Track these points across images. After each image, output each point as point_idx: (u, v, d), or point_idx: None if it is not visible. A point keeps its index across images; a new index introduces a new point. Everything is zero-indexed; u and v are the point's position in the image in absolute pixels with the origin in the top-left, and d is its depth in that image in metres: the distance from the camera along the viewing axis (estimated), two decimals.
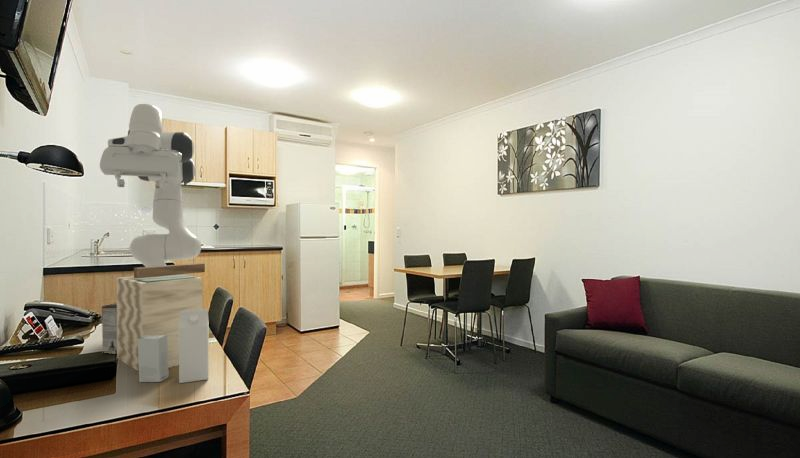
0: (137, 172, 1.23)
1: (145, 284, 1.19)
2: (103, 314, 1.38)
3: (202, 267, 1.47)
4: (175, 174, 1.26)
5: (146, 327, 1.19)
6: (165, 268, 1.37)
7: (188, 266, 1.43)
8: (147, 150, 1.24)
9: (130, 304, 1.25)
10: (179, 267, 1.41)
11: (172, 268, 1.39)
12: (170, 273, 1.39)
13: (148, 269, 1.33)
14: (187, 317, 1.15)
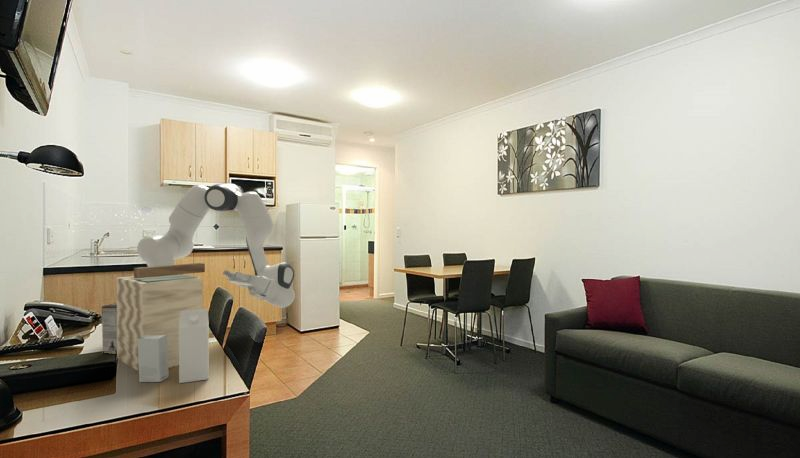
0: None
1: (145, 284, 1.19)
2: (103, 314, 1.38)
3: (202, 267, 1.47)
4: None
5: (146, 327, 1.19)
6: (165, 268, 1.37)
7: (188, 266, 1.43)
8: None
9: (130, 304, 1.25)
10: (179, 267, 1.41)
11: (172, 268, 1.39)
12: (170, 273, 1.39)
13: (148, 269, 1.33)
14: (187, 317, 1.15)
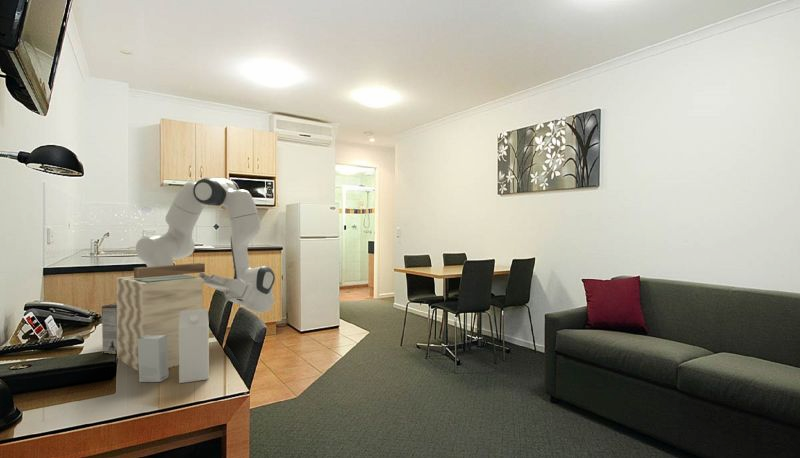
0: None
1: (145, 284, 1.19)
2: (103, 314, 1.38)
3: (202, 267, 1.47)
4: None
5: (146, 327, 1.19)
6: (165, 268, 1.37)
7: (188, 266, 1.43)
8: None
9: (130, 304, 1.25)
10: (179, 267, 1.41)
11: (172, 268, 1.39)
12: (170, 273, 1.39)
13: (148, 269, 1.33)
14: (187, 317, 1.15)
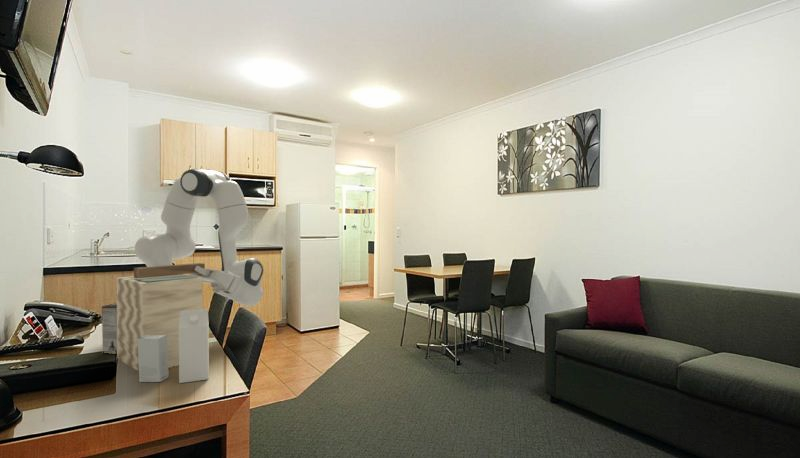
0: None
1: (145, 284, 1.19)
2: (103, 314, 1.38)
3: (202, 267, 1.47)
4: None
5: (146, 327, 1.19)
6: (165, 268, 1.37)
7: (188, 266, 1.43)
8: None
9: (130, 304, 1.25)
10: (179, 267, 1.41)
11: (172, 268, 1.39)
12: (170, 273, 1.39)
13: (148, 269, 1.33)
14: (187, 317, 1.15)
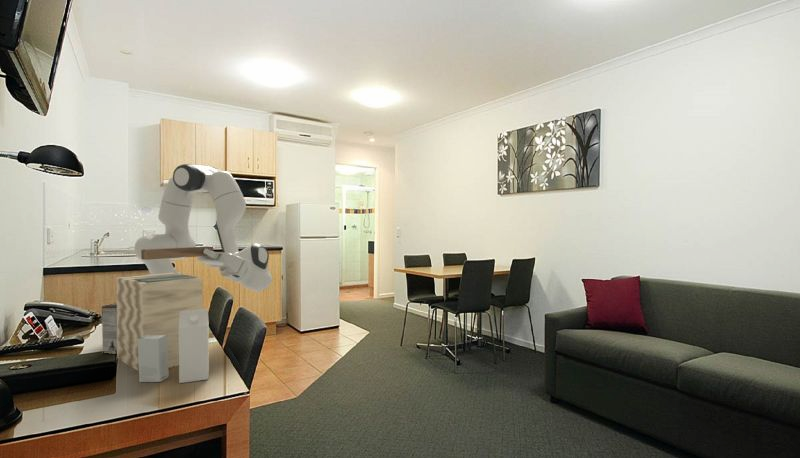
0: None
1: (145, 284, 1.19)
2: (103, 314, 1.38)
3: (211, 250, 1.43)
4: None
5: (146, 327, 1.19)
6: (173, 250, 1.33)
7: (196, 249, 1.39)
8: None
9: (130, 304, 1.25)
10: (187, 249, 1.37)
11: (180, 250, 1.35)
12: (178, 255, 1.35)
13: (156, 251, 1.29)
14: (187, 317, 1.15)
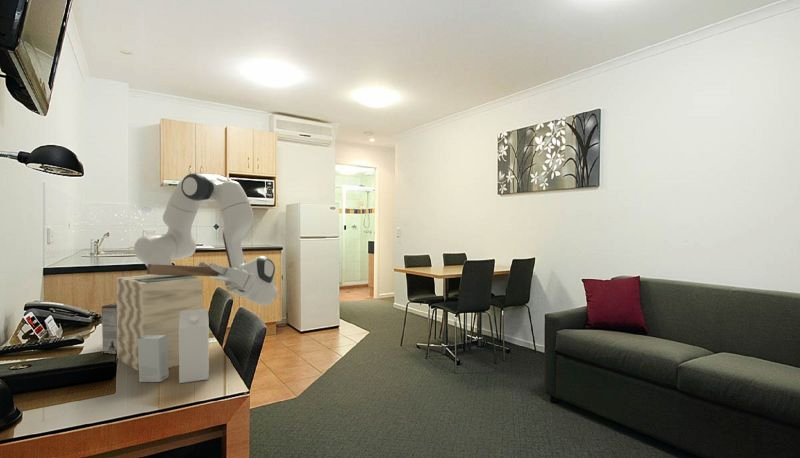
0: None
1: (145, 284, 1.19)
2: (103, 314, 1.38)
3: None
4: None
5: (146, 327, 1.19)
6: (180, 268, 1.31)
7: (203, 268, 1.37)
8: None
9: (130, 304, 1.25)
10: (194, 268, 1.35)
11: (187, 268, 1.33)
12: (184, 273, 1.32)
13: (162, 267, 1.27)
14: (187, 317, 1.15)
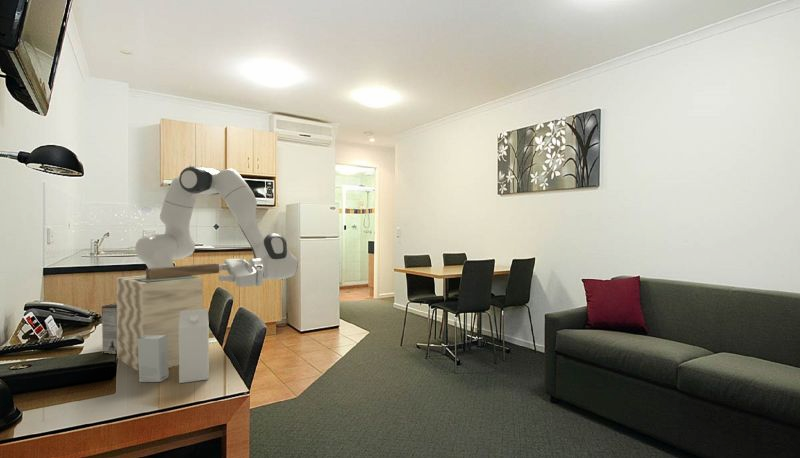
0: None
1: (145, 284, 1.19)
2: (103, 314, 1.38)
3: (217, 268, 1.41)
4: (224, 264, 1.60)
5: (146, 327, 1.19)
6: (179, 269, 1.31)
7: (202, 267, 1.37)
8: None
9: (130, 304, 1.25)
10: (193, 268, 1.35)
11: (186, 269, 1.33)
12: (184, 274, 1.32)
13: (161, 270, 1.27)
14: (187, 317, 1.15)
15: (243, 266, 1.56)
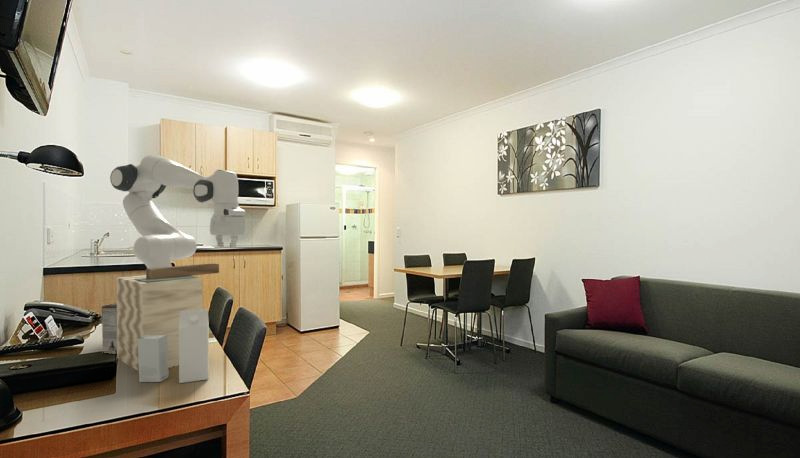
0: None
1: (145, 284, 1.19)
2: (103, 314, 1.38)
3: (217, 268, 1.41)
4: None
5: (146, 327, 1.19)
6: (179, 269, 1.31)
7: (202, 267, 1.37)
8: None
9: (130, 304, 1.25)
10: (193, 268, 1.35)
11: (186, 269, 1.33)
12: (184, 274, 1.32)
13: (161, 270, 1.27)
14: (187, 317, 1.15)
15: (221, 222, 1.60)
